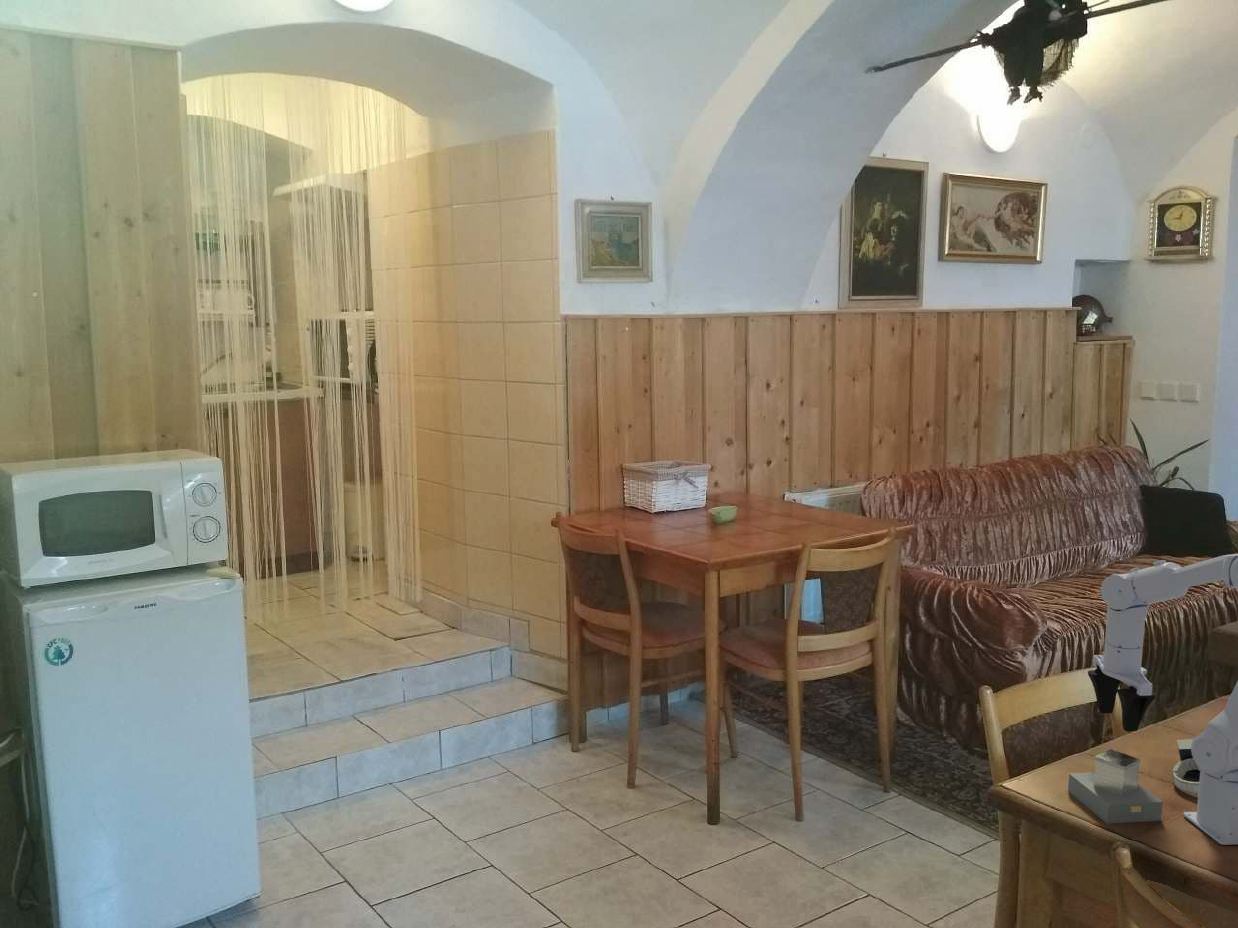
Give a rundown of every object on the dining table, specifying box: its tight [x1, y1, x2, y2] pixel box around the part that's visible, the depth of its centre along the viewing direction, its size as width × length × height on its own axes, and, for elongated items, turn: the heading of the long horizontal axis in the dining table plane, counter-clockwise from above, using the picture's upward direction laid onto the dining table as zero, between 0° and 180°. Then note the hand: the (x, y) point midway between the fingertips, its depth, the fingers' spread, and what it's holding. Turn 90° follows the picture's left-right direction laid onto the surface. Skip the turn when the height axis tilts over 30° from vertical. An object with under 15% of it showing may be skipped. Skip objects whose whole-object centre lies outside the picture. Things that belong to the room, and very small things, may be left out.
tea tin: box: [1094, 748, 1141, 797], centre depth 165 cm, size 5×5×5 cm
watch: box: [1171, 738, 1200, 796], centre depth 173 cm, size 6×8×11 cm
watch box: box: [1067, 771, 1164, 824], centre depth 165 cm, size 11×9×4 cm
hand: (1117, 721), depth 175 cm, fingers open, 7 cm apart
